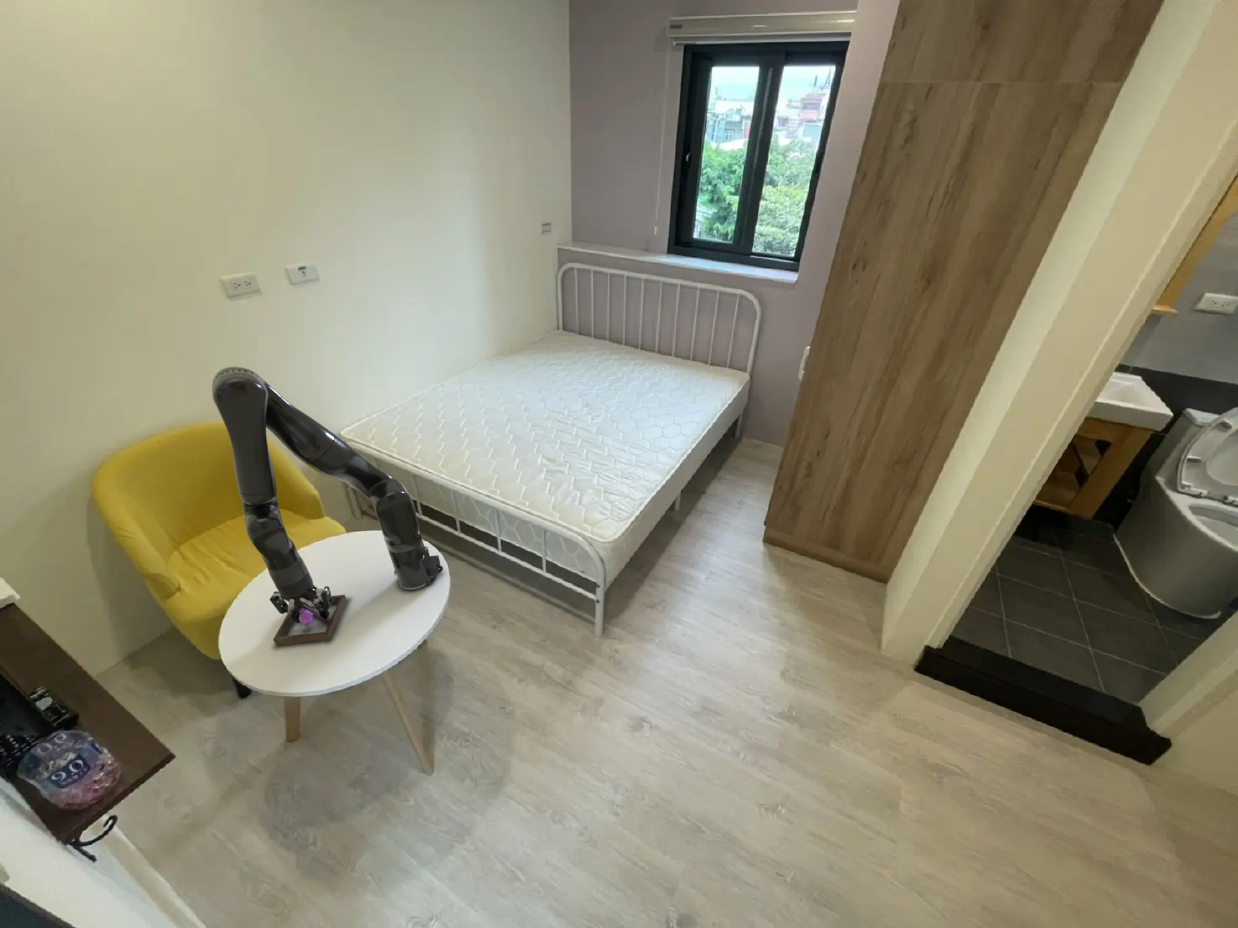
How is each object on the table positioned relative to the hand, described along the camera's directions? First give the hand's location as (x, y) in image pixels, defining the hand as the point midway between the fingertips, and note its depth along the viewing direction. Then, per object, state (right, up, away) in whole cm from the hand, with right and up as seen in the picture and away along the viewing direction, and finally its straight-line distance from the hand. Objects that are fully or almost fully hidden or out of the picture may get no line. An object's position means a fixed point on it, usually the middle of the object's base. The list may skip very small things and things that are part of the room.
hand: (312, 619), depth 136 cm
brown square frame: (0, -1, +1) cm, 1 cm away
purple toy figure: (0, -1, 0) cm, 1 cm away
